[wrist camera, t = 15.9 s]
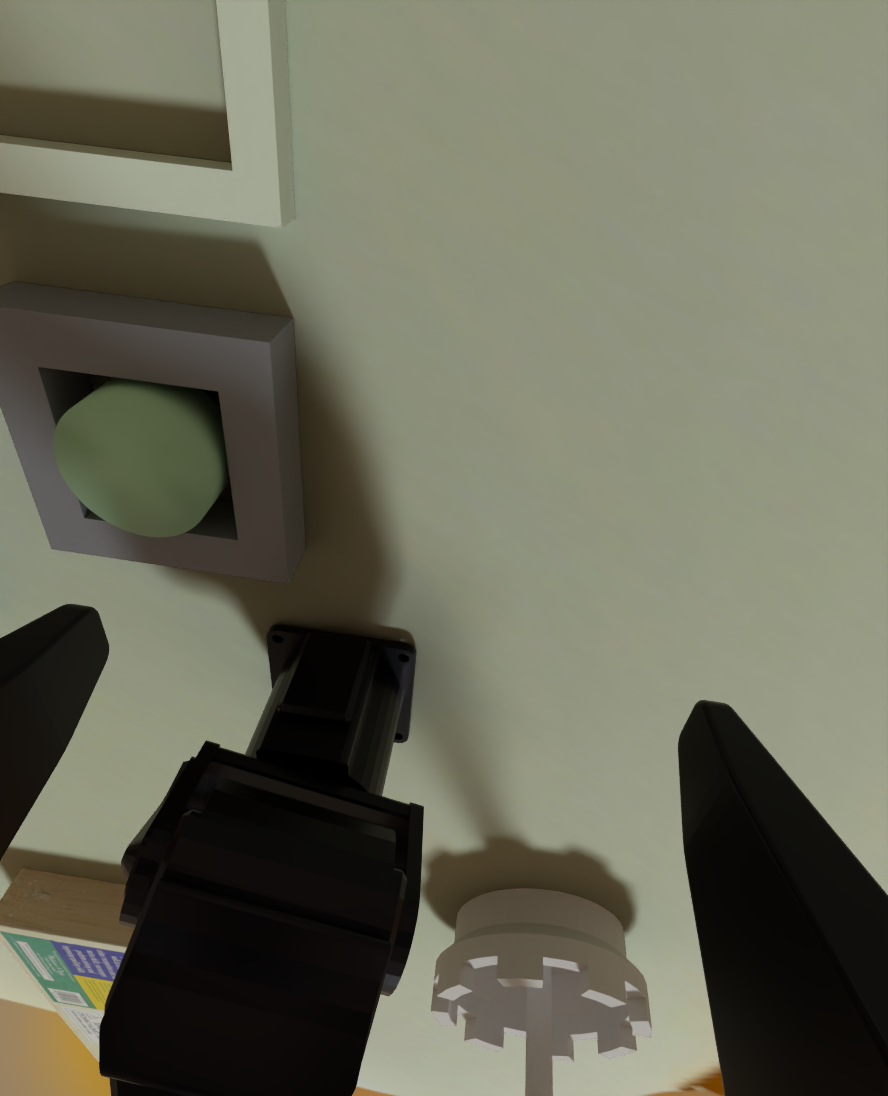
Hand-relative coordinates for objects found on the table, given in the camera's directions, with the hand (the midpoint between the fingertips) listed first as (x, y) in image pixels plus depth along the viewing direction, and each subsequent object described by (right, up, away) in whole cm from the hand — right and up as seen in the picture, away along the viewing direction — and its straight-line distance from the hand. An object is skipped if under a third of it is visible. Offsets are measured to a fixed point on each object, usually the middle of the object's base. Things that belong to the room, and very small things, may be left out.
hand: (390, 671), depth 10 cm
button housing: (-9, +6, +13) cm, 17 cm away
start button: (-9, +6, +13) cm, 16 cm away
